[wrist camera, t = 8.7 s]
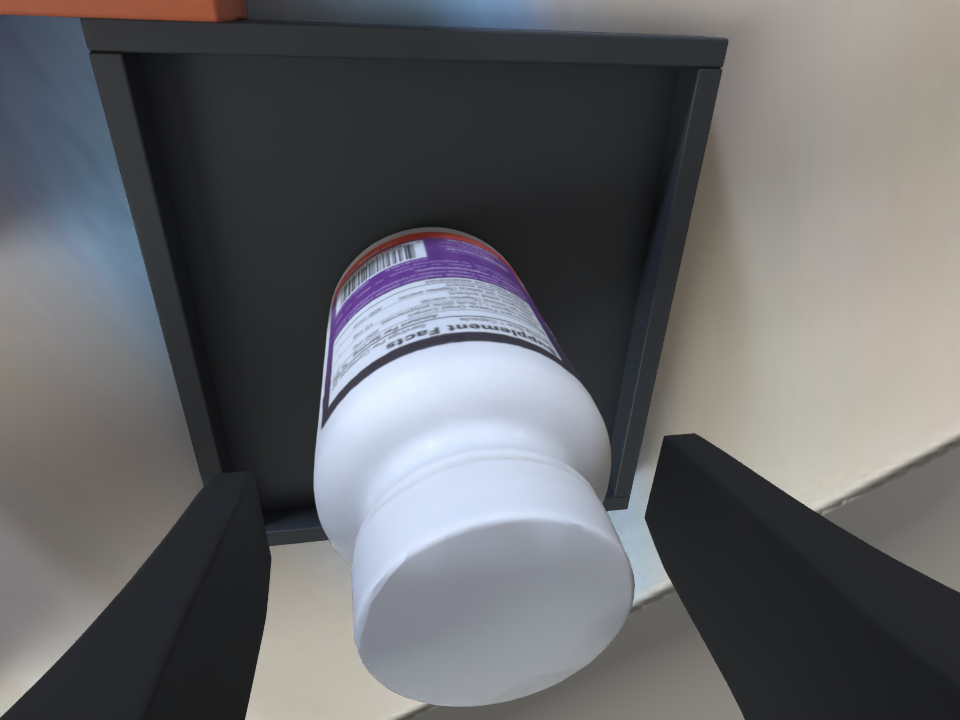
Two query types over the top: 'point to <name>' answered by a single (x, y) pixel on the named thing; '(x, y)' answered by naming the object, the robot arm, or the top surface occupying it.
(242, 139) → the charcoal tray
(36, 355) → the top surface
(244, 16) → the terracotta bin
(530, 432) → the pill bottle
